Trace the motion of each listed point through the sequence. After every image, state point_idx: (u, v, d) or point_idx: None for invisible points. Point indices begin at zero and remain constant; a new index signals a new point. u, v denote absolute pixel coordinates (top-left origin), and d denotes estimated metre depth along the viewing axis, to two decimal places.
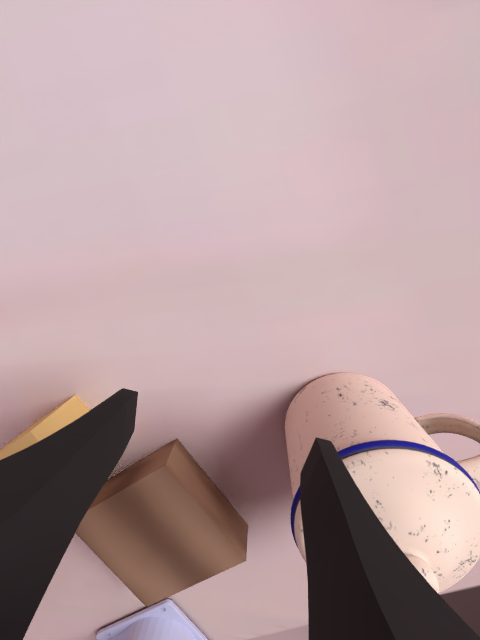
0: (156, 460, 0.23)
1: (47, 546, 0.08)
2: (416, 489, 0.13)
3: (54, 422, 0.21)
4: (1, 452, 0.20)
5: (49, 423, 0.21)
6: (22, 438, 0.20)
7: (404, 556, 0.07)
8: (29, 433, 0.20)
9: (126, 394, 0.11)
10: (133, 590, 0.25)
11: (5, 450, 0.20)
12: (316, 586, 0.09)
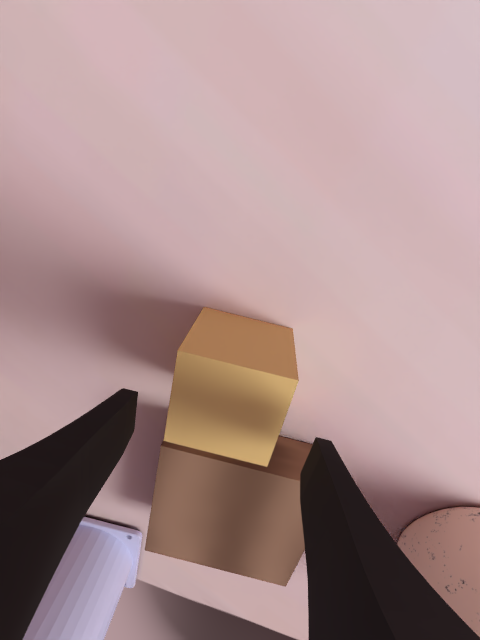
0: None
1: (47, 546, 0.08)
2: None
3: None
4: (229, 364, 0.12)
5: None
6: (278, 377, 0.12)
7: (404, 556, 0.07)
8: (294, 381, 0.12)
9: (126, 394, 0.11)
10: (150, 533, 0.20)
11: (238, 368, 0.12)
12: (316, 586, 0.09)
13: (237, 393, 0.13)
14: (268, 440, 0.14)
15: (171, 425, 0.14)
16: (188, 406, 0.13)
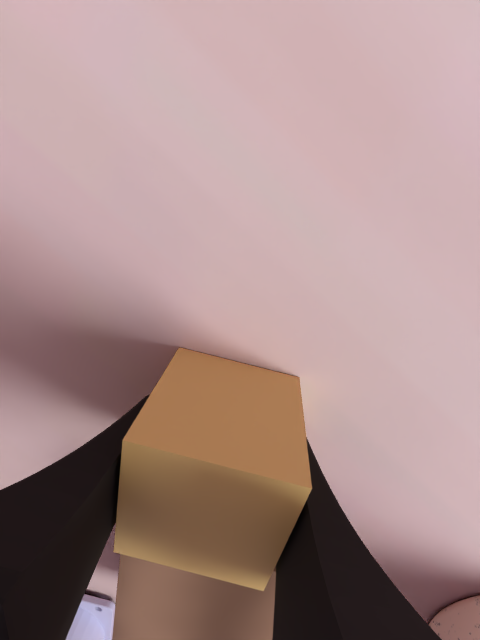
0: None
1: (85, 556, 0.08)
2: None
3: None
4: (203, 462, 0.08)
5: None
6: (280, 483, 0.08)
7: (363, 545, 0.07)
8: (305, 488, 0.08)
9: None
10: (117, 625, 0.16)
11: (217, 468, 0.08)
12: (282, 577, 0.09)
13: (218, 500, 0.08)
14: (264, 560, 0.09)
15: (122, 534, 0.10)
16: (144, 512, 0.09)
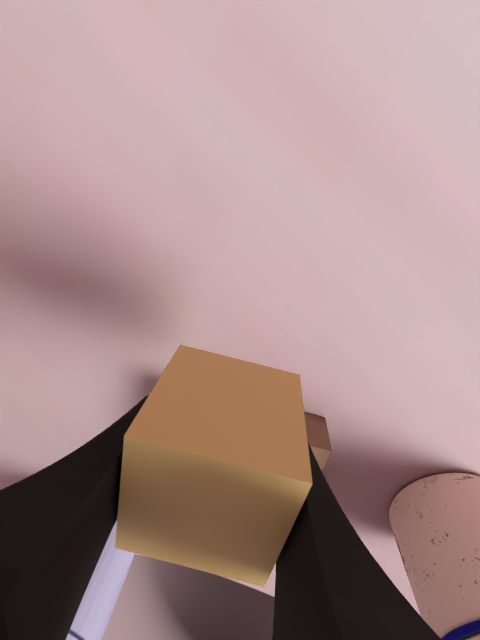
0: (306, 428, 0.20)
1: (86, 556, 0.08)
2: None
3: None
4: (204, 457, 0.08)
5: None
6: (280, 478, 0.08)
7: (363, 545, 0.07)
8: (305, 484, 0.08)
9: None
10: None
11: (218, 463, 0.08)
12: (282, 577, 0.09)
13: (218, 496, 0.08)
14: (265, 556, 0.09)
15: (124, 530, 0.10)
16: (145, 508, 0.09)
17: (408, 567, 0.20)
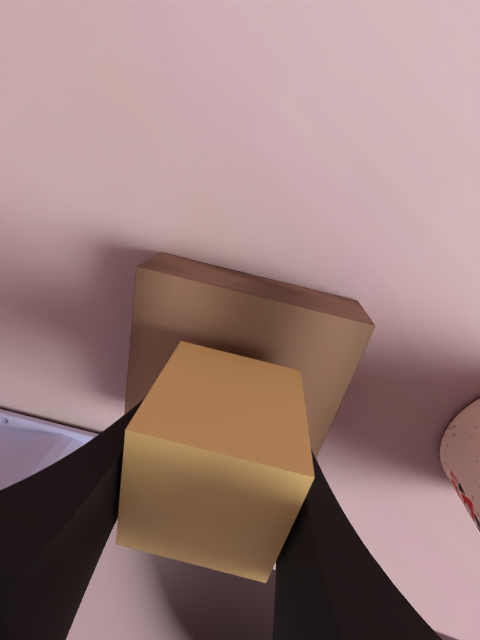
0: (333, 304, 0.14)
1: (85, 556, 0.08)
2: None
3: None
4: (205, 451, 0.08)
5: None
6: (282, 472, 0.08)
7: (363, 545, 0.07)
8: (307, 477, 0.08)
9: None
10: None
11: (220, 457, 0.08)
12: (282, 577, 0.09)
13: (220, 490, 0.08)
14: (267, 551, 0.09)
15: (125, 526, 0.10)
16: (147, 503, 0.09)
17: None
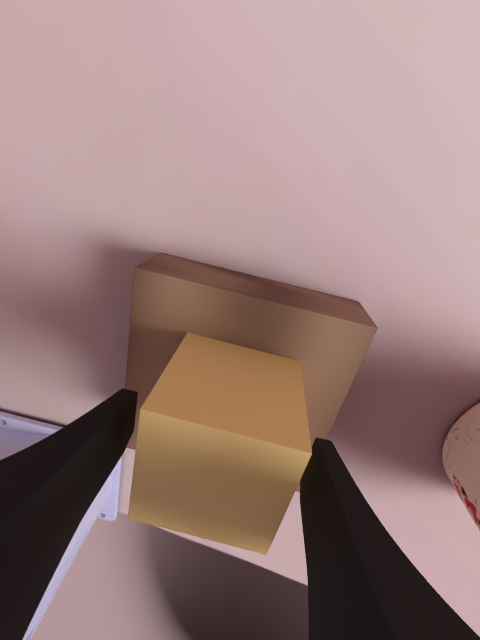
0: (335, 305, 0.14)
1: (47, 546, 0.08)
2: None
3: None
4: (213, 429, 0.09)
5: None
6: (283, 448, 0.09)
7: (404, 556, 0.07)
8: (305, 453, 0.09)
9: (126, 394, 0.11)
10: None
11: (226, 434, 0.09)
12: (316, 586, 0.09)
13: (226, 466, 0.09)
14: (268, 523, 0.10)
15: (137, 501, 0.10)
16: (158, 479, 0.10)
17: None
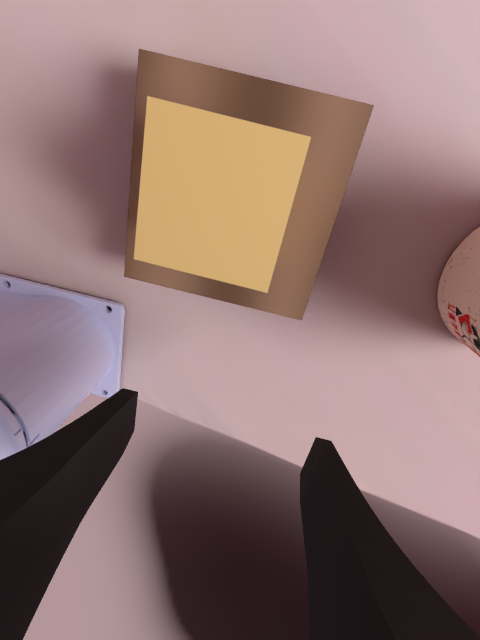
0: None
1: (47, 546, 0.08)
2: None
3: None
4: (217, 116, 0.09)
5: None
6: (283, 134, 0.09)
7: (404, 556, 0.07)
8: (305, 139, 0.09)
9: (126, 394, 0.11)
10: (130, 242, 0.16)
11: (229, 121, 0.09)
12: (316, 586, 0.09)
13: (229, 168, 0.10)
14: (269, 247, 0.10)
15: (143, 232, 0.11)
16: (163, 197, 0.10)
17: (479, 310, 0.14)
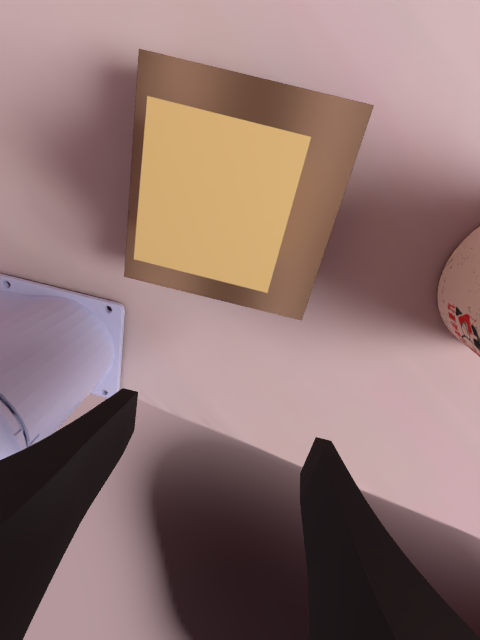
0: None
1: (47, 546, 0.08)
2: None
3: None
4: (217, 116, 0.09)
5: None
6: (283, 134, 0.09)
7: (404, 556, 0.07)
8: (305, 139, 0.09)
9: (126, 394, 0.11)
10: (130, 242, 0.16)
11: (229, 121, 0.09)
12: (316, 586, 0.09)
13: (229, 168, 0.10)
14: (269, 247, 0.10)
15: (143, 232, 0.11)
16: (163, 197, 0.10)
17: (479, 310, 0.14)
